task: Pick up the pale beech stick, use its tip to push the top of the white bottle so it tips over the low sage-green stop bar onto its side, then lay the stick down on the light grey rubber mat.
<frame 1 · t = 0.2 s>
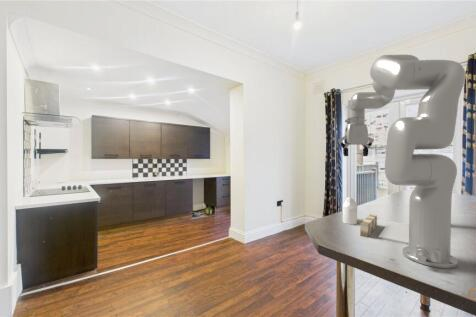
hand: (355, 156, 111), 31 cm above the table, tool pointing down, fingers open, 9 cm apart
water bottle: (437, 224, 100), on the table
grey mat: (397, 231, 90), on the table
sage stop bar: (352, 220, 105), on the table
white bottle: (349, 223, 102), on the table
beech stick: (369, 231, 91), on the table
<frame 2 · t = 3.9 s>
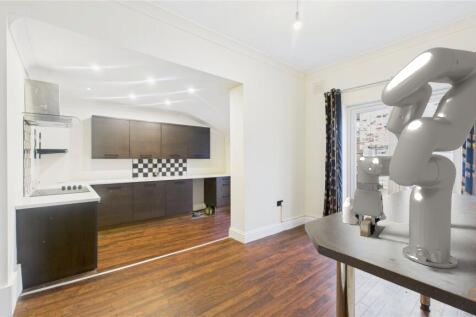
hand: (367, 231, 89), 0 cm above the table, tool pointing down, fingers closed on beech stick, 2 cm apart
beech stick: (369, 230, 91), on the table, touching gripper
everything else where it was.
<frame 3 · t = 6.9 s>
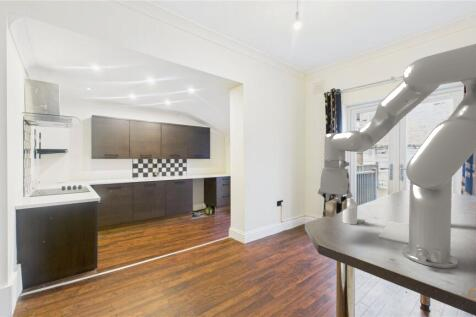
hand: (334, 211, 86), 9 cm above the table, tool pointing down, fingers closed on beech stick, 2 cm apart
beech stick: (336, 211, 88), point 9 cm above the table, touching gripper
everything else where it was.
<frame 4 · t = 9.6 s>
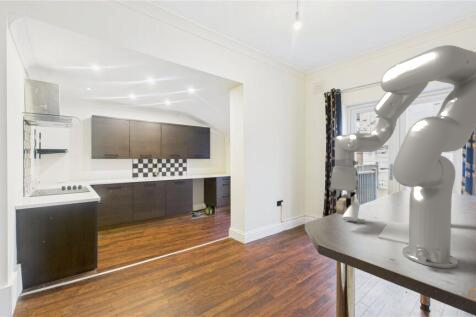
hand: (344, 206, 95), 9 cm above the table, tool pointing down, fingers closed on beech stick, 2 cm apart
white bottle: (350, 219, 102), point 1 cm above the table, touching sage stop bar
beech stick: (346, 206, 98), point 8 cm above the table, tilted 11°, touching gripper
everything else where it was.
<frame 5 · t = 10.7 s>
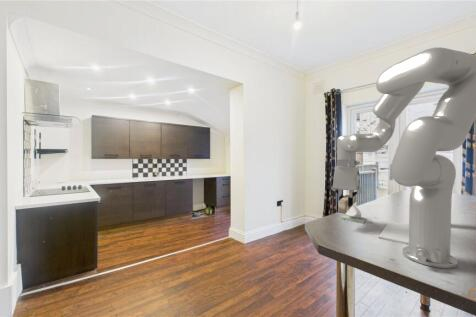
hand: (346, 205, 97), 9 cm above the table, tool pointing down, fingers closed on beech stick, 2 cm apart
white bottle: (350, 209, 104), point 5 cm above the table, touching sage stop bar
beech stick: (348, 206, 99), point 8 cm above the table, tilted 8°, touching gripper
everything else where it was.
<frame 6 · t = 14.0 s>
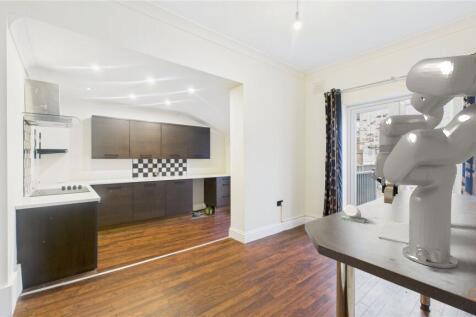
hand: (389, 195, 89), 15 cm above the table, tool pointing down, fingers closed on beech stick, 2 cm apart
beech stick: (390, 196, 91), point 14 cm above the table, tilted 8°, touching gripper
everything else where it was.
when the fingers open (2 cm above the table, at t = 17.0 s): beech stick stays where it is, resting on grey mat.
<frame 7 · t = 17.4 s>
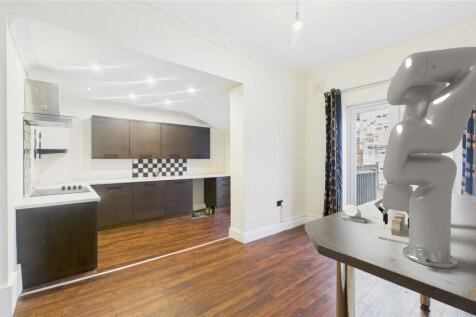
hand: (397, 225, 89), 3 cm above the table, tool pointing down, fingers open, 7 cm apart
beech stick: (398, 229, 91), point 1 cm above the table, touching grey mat
everything else where it was.
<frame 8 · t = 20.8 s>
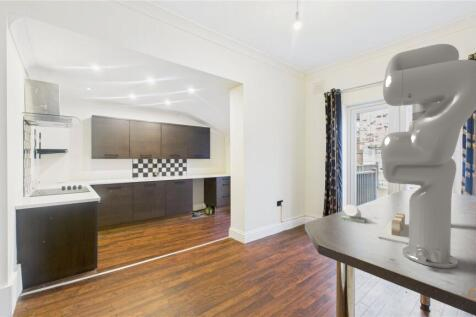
hand: (424, 162, 84), 28 cm above the table, tool pointing down, fingers open, 9 cm apart
nothing on the table moved.
at the end: white bottle tilted 114°; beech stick inside the target area on the grey mat (1.5 cm from its centre), point 0.6 cm above the grey mat's base; the gripper is holding nothing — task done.
